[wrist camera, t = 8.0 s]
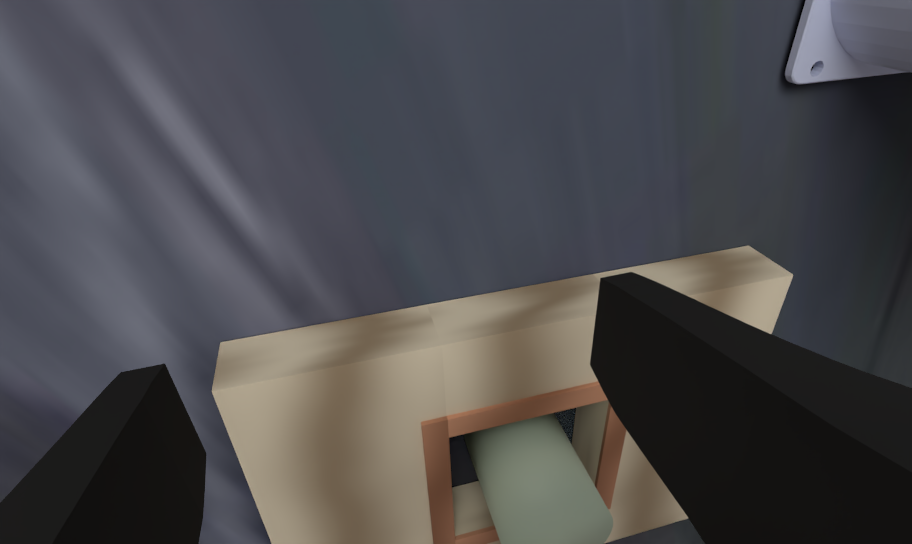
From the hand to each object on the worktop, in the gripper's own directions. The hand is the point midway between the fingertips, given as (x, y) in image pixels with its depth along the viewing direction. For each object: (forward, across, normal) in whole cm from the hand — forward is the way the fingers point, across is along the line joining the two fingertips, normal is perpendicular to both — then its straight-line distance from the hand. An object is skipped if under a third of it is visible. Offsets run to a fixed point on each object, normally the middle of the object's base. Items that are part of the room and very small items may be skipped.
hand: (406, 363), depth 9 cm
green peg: (+10, -5, +14) cm, 17 cm away
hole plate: (+9, -5, +14) cm, 18 cm away
